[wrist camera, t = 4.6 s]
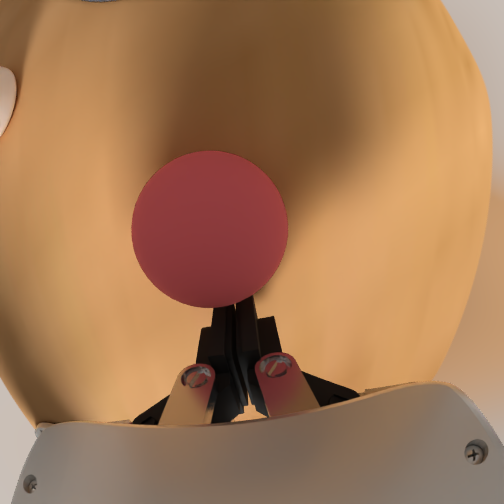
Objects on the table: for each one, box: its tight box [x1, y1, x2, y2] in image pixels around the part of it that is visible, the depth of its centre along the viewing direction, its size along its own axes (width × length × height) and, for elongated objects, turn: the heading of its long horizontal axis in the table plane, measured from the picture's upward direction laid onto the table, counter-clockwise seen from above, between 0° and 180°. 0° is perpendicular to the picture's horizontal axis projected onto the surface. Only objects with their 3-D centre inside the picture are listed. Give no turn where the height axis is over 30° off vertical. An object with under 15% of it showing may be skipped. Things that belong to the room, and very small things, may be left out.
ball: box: [131, 151, 288, 308], centre depth 10 cm, size 6×6×6 cm
